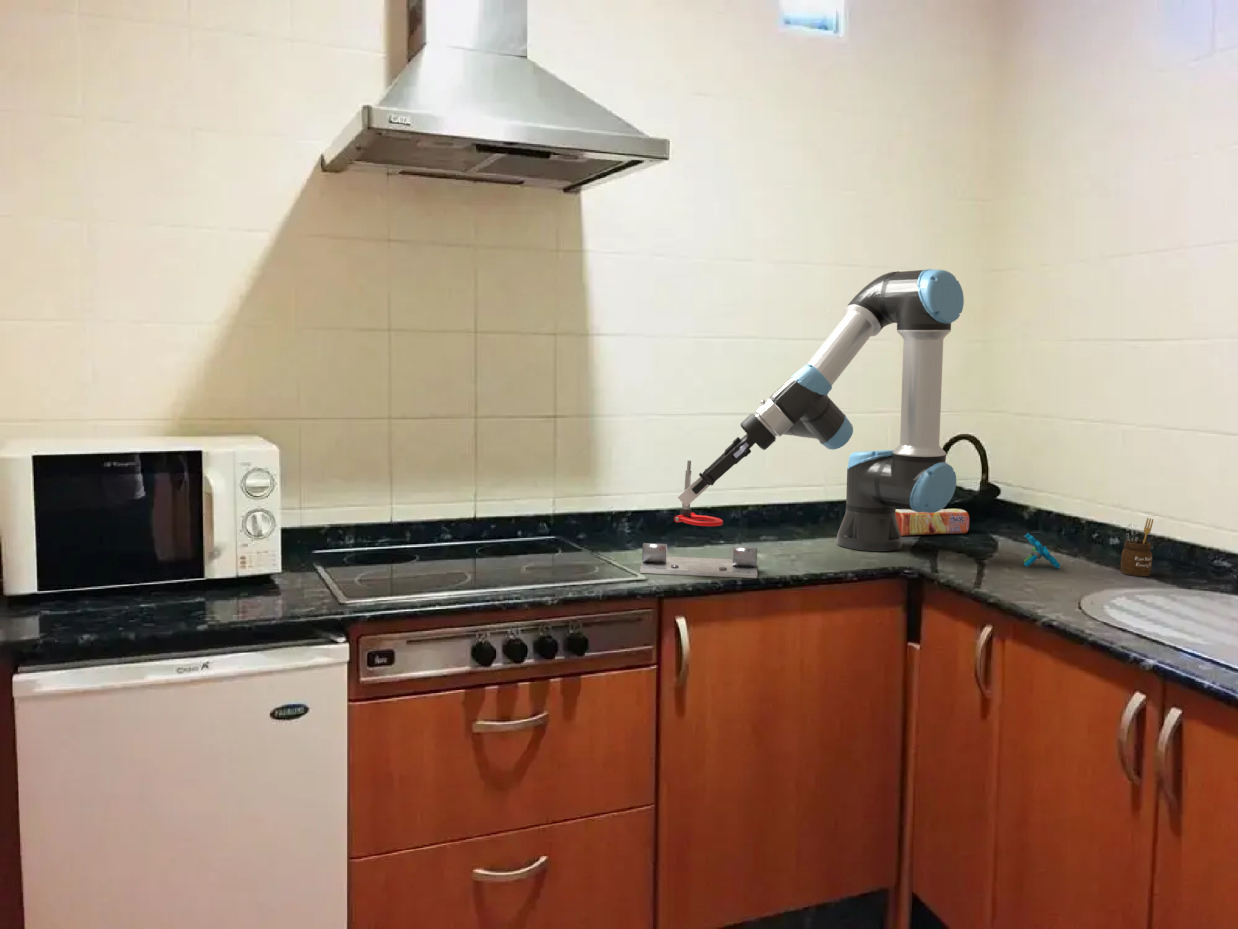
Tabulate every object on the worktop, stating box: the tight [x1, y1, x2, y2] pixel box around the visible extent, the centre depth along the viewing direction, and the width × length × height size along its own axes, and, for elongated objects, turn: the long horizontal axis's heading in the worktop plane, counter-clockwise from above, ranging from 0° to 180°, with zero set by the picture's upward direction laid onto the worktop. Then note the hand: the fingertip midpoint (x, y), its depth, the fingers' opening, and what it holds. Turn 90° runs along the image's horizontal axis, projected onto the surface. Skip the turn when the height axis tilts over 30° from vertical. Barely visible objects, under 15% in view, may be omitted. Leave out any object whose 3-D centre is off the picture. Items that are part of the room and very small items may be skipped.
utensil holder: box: [1120, 517, 1154, 577], centre depth 221 cm, size 6×6×12 cm
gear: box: [1023, 532, 1062, 570], centre depth 227 cm, size 11×6×10 cm
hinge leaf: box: [639, 542, 758, 579], centre depth 217 cm, size 13×24×5 cm, turn 84°
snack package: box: [896, 508, 970, 537], centre depth 265 cm, size 21×7×7 cm, turn 108°
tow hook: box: [673, 460, 724, 527], centre depth 214 cm, size 8×13×9 cm
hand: (682, 501), depth 216 cm, fingers closed on tow hook, 1 cm apart
